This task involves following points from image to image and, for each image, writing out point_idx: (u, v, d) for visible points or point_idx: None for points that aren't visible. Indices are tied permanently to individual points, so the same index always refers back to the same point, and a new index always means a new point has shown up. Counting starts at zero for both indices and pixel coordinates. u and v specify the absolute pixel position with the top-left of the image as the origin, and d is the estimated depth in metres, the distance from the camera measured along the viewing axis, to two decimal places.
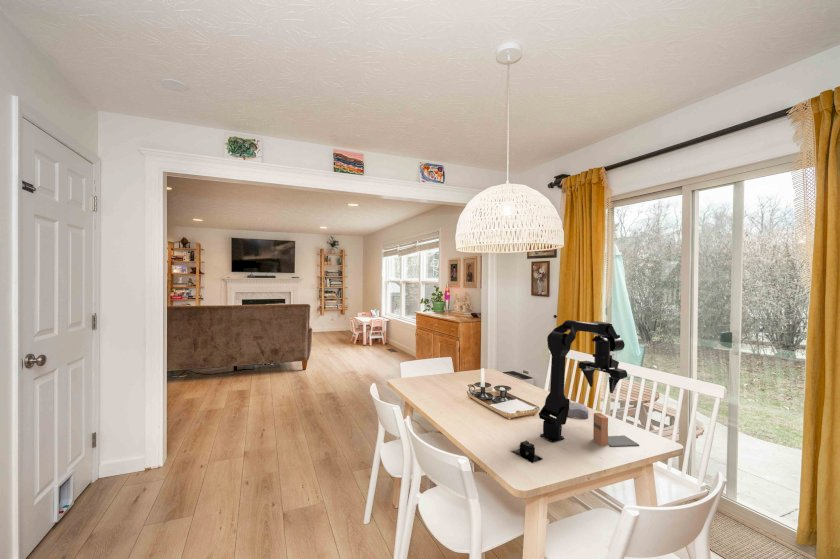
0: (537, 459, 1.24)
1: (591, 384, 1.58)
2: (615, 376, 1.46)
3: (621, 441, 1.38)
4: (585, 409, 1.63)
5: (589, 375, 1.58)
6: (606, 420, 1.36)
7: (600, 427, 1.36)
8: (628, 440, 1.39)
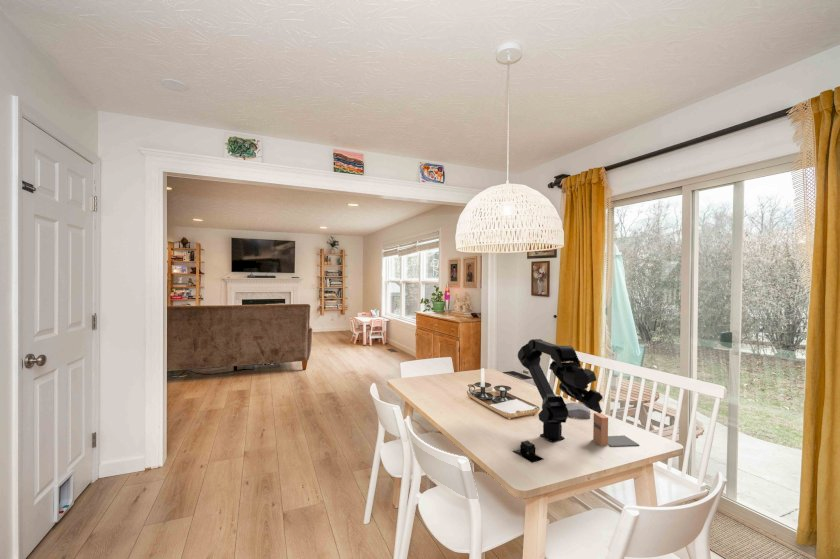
0: (537, 459, 1.24)
1: None
2: (588, 407, 1.29)
3: (621, 441, 1.38)
4: (587, 409, 1.63)
5: (574, 395, 1.42)
6: (606, 420, 1.36)
7: (600, 427, 1.36)
8: (628, 440, 1.39)
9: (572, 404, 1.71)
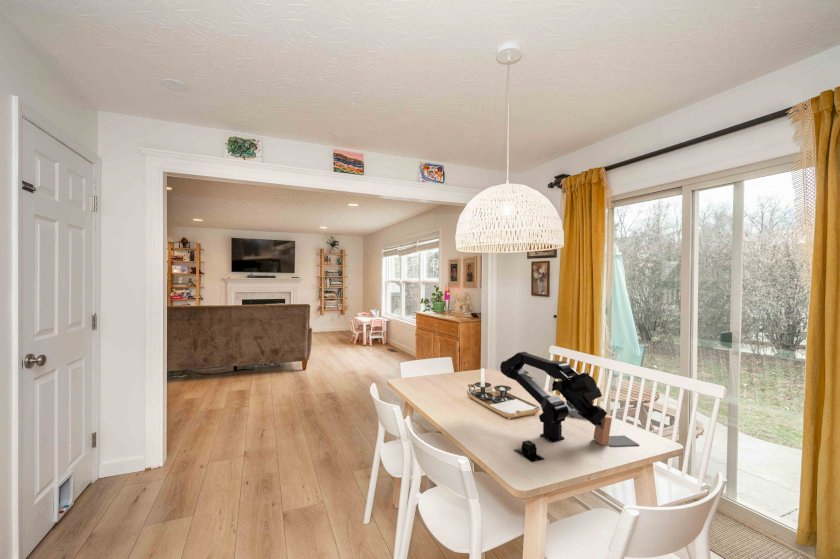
0: (538, 459, 1.24)
1: None
2: (592, 423, 1.29)
3: (621, 441, 1.38)
4: None
5: None
6: (609, 420, 1.36)
7: (602, 426, 1.36)
8: (628, 440, 1.39)
9: None
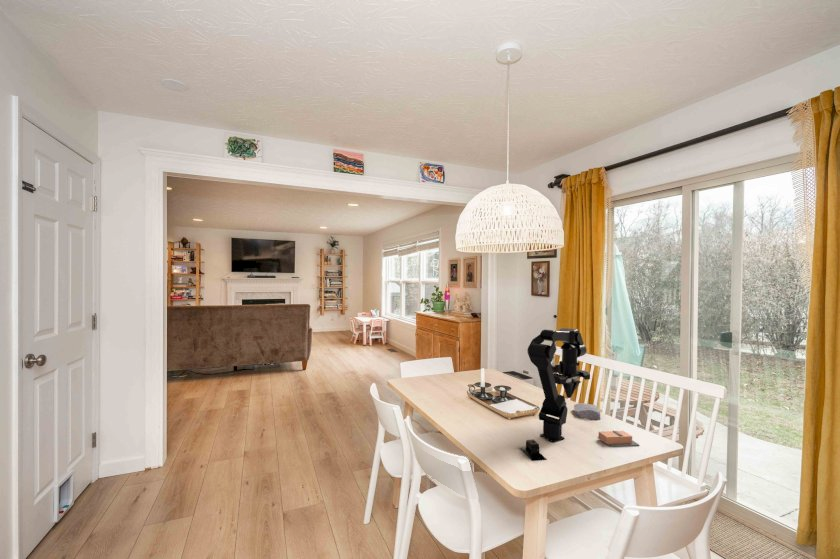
0: (539, 458, 1.24)
1: None
2: (588, 377, 1.53)
3: None
4: (597, 410, 1.62)
5: None
6: (629, 441, 1.37)
7: (622, 435, 1.37)
8: None
9: (581, 405, 1.70)
